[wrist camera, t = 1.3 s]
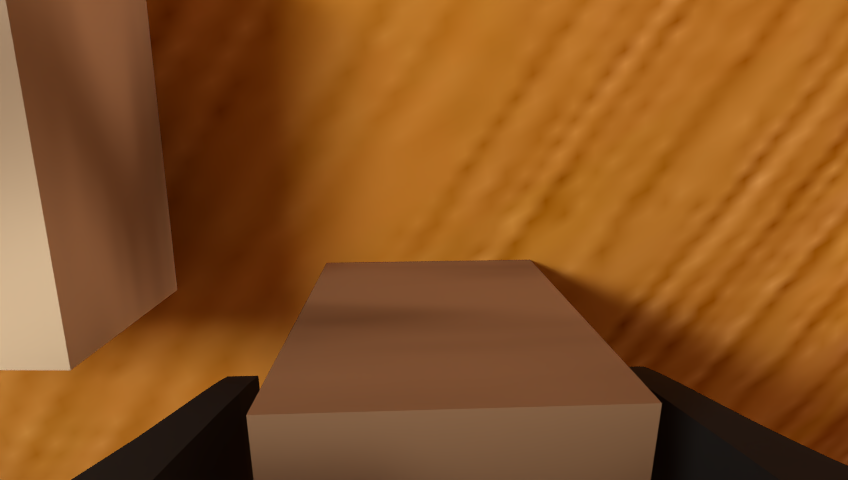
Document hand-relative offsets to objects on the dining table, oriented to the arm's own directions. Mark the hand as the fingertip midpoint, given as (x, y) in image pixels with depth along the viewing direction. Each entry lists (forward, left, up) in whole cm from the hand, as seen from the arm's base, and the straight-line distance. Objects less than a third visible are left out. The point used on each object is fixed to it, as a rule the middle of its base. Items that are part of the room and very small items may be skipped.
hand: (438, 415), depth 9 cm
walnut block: (0, 0, -3) cm, 3 cm away
